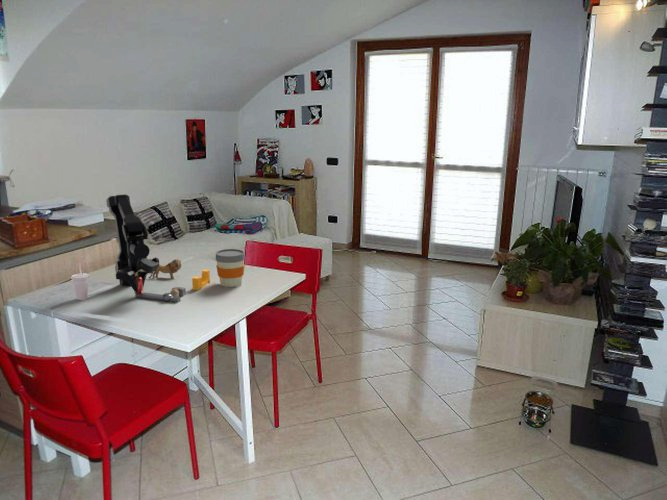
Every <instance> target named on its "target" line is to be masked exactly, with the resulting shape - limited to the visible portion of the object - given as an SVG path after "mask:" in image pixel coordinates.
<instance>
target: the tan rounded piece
mask: <svg viewBox="0 0 667 500" xmlns="http://www.w3.org/2000/svg"><path fill="white" fill-rule="evenodd" d="M169 293H172V294H173V296H179V291H178V290H177V289H173V290H172V289H171V290H170V292H169Z"/></svg>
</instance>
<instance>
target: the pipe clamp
mask: <svg viewBox="0 0 667 500" xmlns="http://www.w3.org/2000/svg"><path fill="white" fill-rule="evenodd" d="M210 275H211V274H210V270H209V269H203V270H202V271H201V276H193V277H192V279H191V280H192V290H193V291H200V289H202V288H203V287H206V286H207V285H208V284H211V277H210Z"/></svg>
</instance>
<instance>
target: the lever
mask: <svg viewBox="0 0 667 500" xmlns="http://www.w3.org/2000/svg"><path fill="white" fill-rule="evenodd" d="M134 295H135V298H141V299H149V300H157V301H158V300H159V301H163V302H165V303H179V302H181V296H173V294H172V293H170V292H166V293H163V294H162V293H161V294H160V293H152V292H151V293H149V292H144V286H143V282H142V277H139V279H138V291H137V292H135V291H134Z"/></svg>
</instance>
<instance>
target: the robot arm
mask: <svg viewBox="0 0 667 500" xmlns="http://www.w3.org/2000/svg"><path fill="white" fill-rule="evenodd" d="M106 207H107V208H108V211H109V213H110V214H111V216H113V218H114V222H115V228H116V235H117V242H118V247H119V249H118V250H119V252H118V254H117V256H116V261H115V267H114V270H115V280H119V285H121V286H122V287H131V288H132V290H133V291H134V293H135V292H137V291H138V279H139V277H142V282H143V287H144V285H145V281H146V279H147V276H148V275H149V274H151V273H154V271H156V270H157V267H158V266H160V265H161V264H160V259H159V257H156V256H155V257H153V258H148V256H149V254H150V247H149V246H148V245H147V244H146V243H145V241H144V240H148V236H149V233H148V231H147V227H146V225H145V223H144V222H142V219H141V218H140V217H139V216H137V215H136V214H135V211H134V210H133V208H132V205H131V199H130V195H128V194H126V193H125V194H116V195H109V196H108V197H107V199H106Z"/></svg>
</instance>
